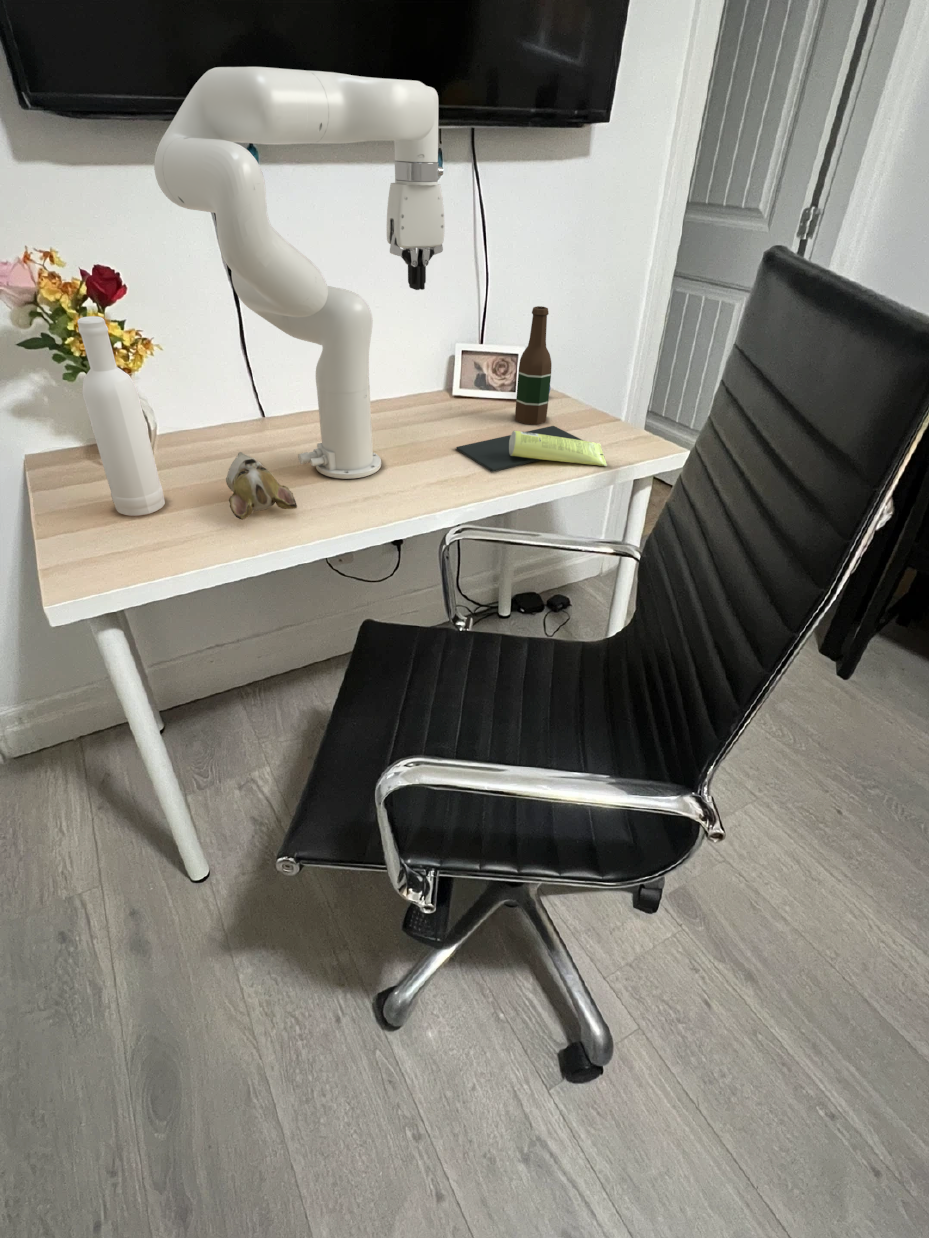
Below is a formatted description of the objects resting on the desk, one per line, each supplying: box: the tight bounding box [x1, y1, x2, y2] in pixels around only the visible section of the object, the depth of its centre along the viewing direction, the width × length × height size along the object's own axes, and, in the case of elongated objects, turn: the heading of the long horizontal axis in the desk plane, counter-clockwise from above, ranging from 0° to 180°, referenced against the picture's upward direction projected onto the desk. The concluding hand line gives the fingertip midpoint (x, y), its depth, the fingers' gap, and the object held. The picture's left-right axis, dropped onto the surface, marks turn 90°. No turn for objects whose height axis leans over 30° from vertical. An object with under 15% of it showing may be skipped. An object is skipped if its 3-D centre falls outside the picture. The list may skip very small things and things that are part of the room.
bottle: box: [76, 315, 166, 517], centre depth 108 cm, size 8×8×30 cm
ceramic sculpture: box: [225, 451, 298, 521], centre depth 116 cm, size 11×9×15 cm
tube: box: [509, 430, 608, 467], centre depth 138 cm, size 6×5×20 cm
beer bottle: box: [514, 305, 552, 426], centre depth 151 cm, size 8×8×24 cm
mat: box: [455, 425, 584, 473], centre depth 144 cm, size 26×13×1 cm, turn 124°
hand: (416, 288), depth 131 cm, fingers closed
